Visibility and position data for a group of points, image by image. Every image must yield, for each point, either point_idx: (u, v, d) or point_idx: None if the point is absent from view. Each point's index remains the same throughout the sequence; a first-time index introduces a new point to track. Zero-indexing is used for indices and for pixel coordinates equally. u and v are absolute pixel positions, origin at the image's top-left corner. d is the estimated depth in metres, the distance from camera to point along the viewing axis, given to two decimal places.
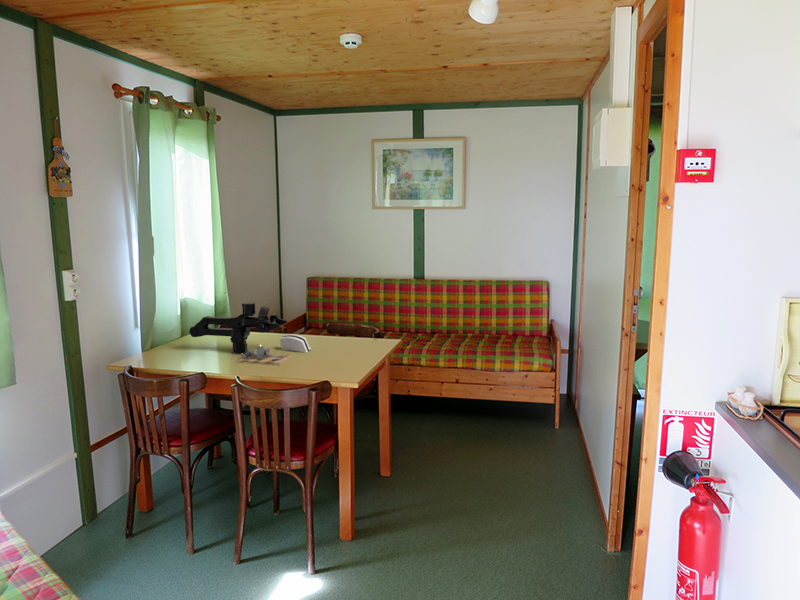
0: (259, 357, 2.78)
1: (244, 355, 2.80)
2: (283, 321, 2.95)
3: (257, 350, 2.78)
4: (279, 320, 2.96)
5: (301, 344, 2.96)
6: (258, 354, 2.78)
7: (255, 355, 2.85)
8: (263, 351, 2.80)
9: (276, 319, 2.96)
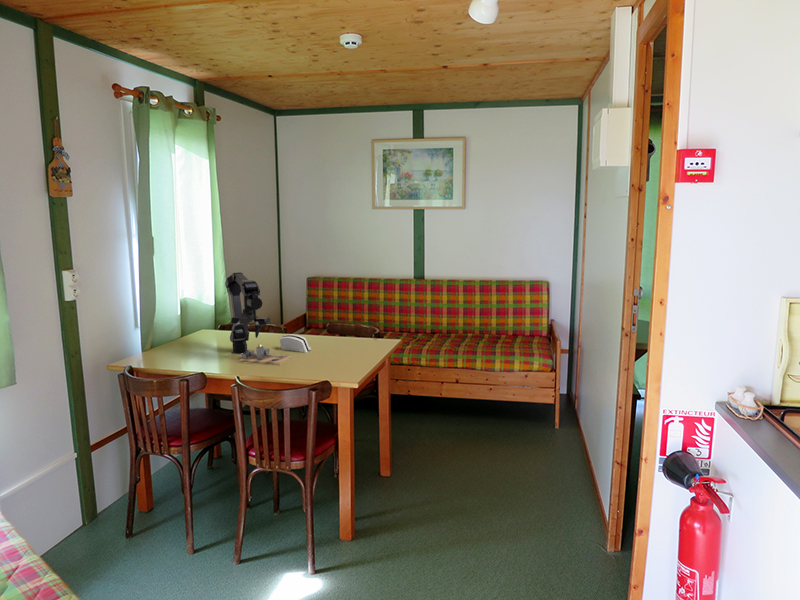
0: (259, 357, 2.78)
1: (244, 355, 2.80)
2: None
3: (257, 350, 2.78)
4: None
5: (301, 344, 2.96)
6: (258, 354, 2.78)
7: (255, 355, 2.85)
8: (263, 351, 2.80)
9: None
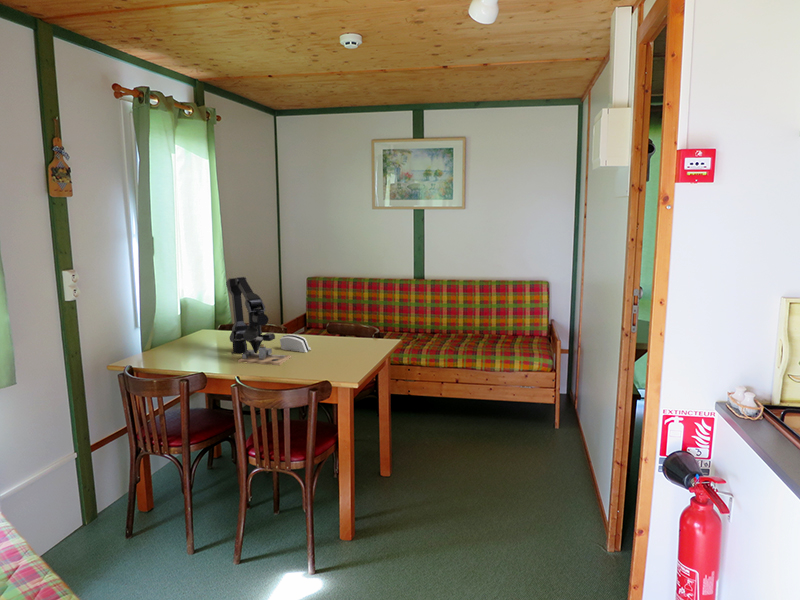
0: (262, 357, 2.78)
1: (244, 355, 2.80)
2: None
3: (259, 350, 2.78)
4: None
5: (301, 344, 2.96)
6: (260, 354, 2.78)
7: (255, 355, 2.85)
8: (265, 351, 2.80)
9: None
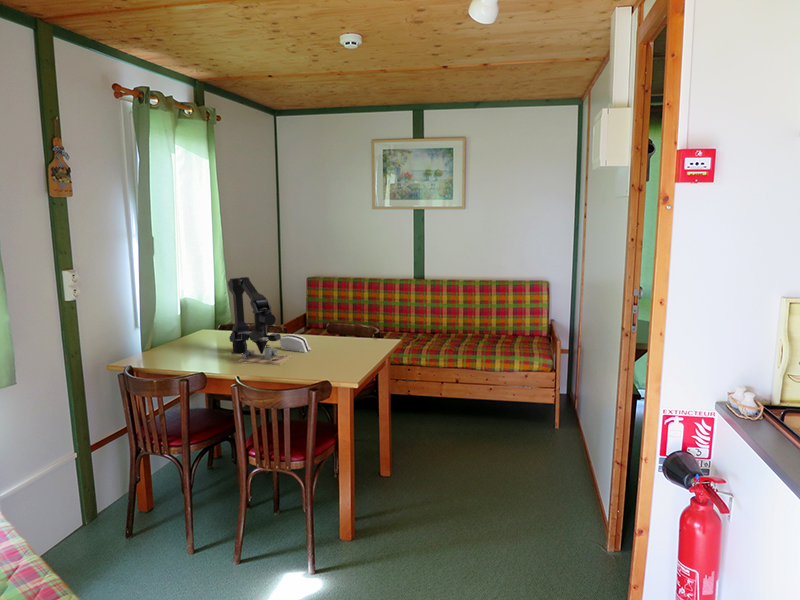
0: (267, 357, 2.77)
1: (244, 355, 2.80)
2: None
3: (265, 350, 2.77)
4: None
5: (300, 344, 2.96)
6: (266, 354, 2.77)
7: (255, 355, 2.85)
8: (271, 351, 2.79)
9: None
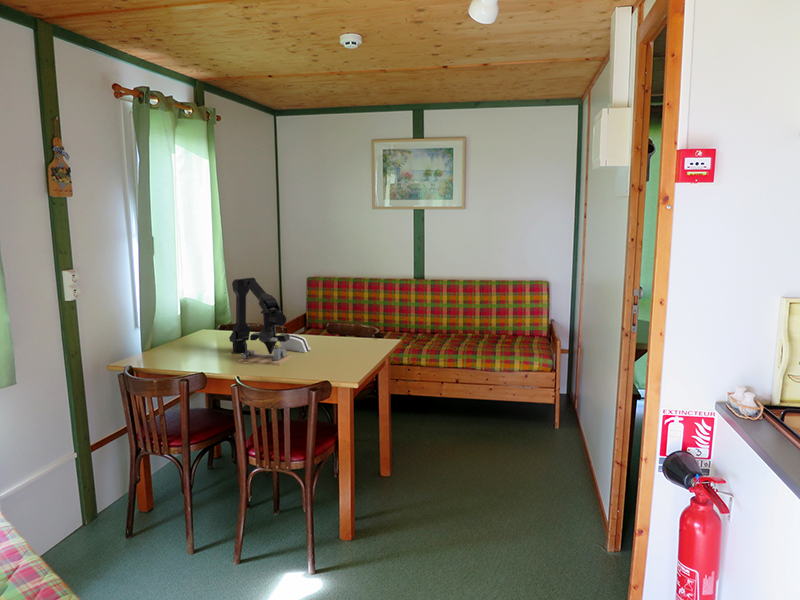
0: (276, 358, 2.76)
1: (244, 355, 2.80)
2: None
3: (274, 351, 2.76)
4: None
5: (300, 344, 2.96)
6: (275, 355, 2.76)
7: (255, 355, 2.85)
8: (280, 352, 2.78)
9: None
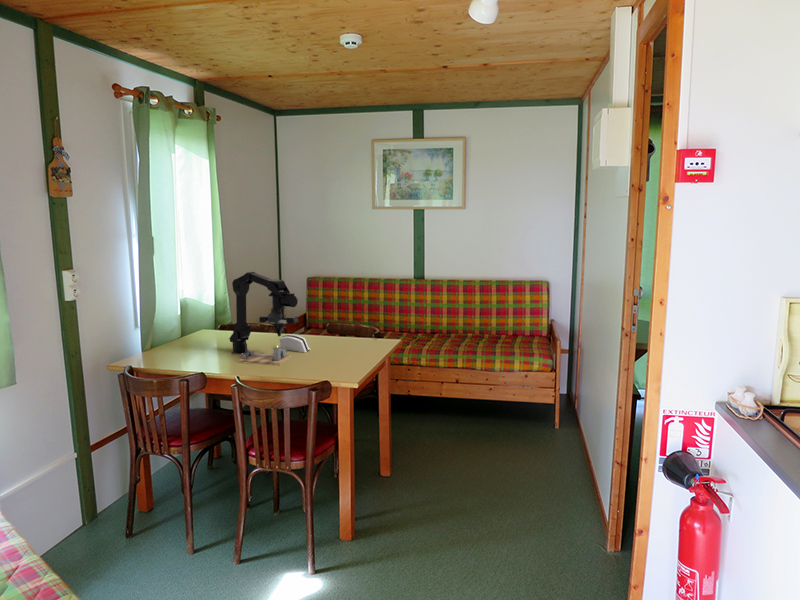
0: (277, 358, 2.76)
1: (244, 355, 2.80)
2: None
3: (274, 351, 2.76)
4: None
5: (300, 344, 2.96)
6: (275, 355, 2.76)
7: (255, 355, 2.85)
8: (280, 352, 2.78)
9: None
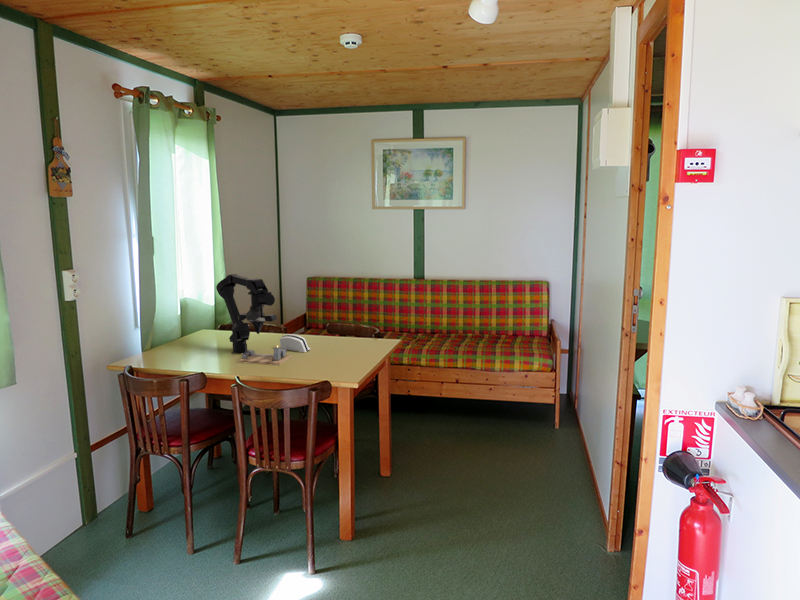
0: (277, 358, 2.76)
1: (244, 355, 2.80)
2: None
3: (274, 351, 2.76)
4: None
5: (300, 344, 2.96)
6: (275, 355, 2.76)
7: (255, 355, 2.85)
8: (280, 352, 2.78)
9: None
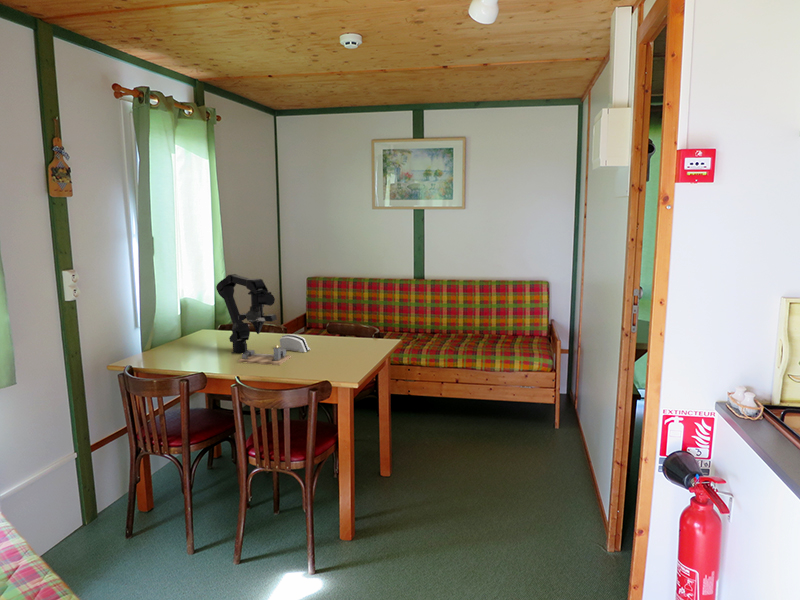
0: (277, 358, 2.76)
1: (244, 355, 2.80)
2: None
3: (274, 351, 2.76)
4: None
5: (300, 344, 2.96)
6: (275, 355, 2.76)
7: (255, 355, 2.85)
8: (280, 352, 2.78)
9: None
